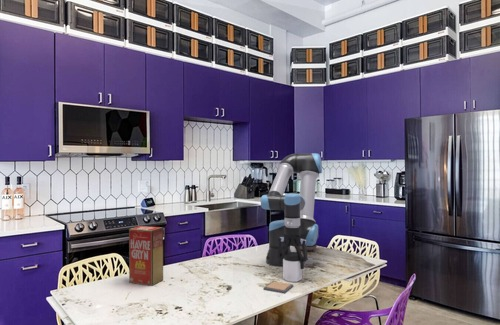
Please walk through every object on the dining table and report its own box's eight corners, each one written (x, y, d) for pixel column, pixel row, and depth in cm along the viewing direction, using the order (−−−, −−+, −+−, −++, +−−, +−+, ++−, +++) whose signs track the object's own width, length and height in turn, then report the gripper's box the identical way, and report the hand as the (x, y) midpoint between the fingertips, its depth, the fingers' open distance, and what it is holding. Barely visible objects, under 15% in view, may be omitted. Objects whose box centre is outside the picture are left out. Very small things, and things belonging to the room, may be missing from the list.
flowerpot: (295, 252, 221) (295, 220, 221) (296, 246, 237) (296, 216, 237) (318, 253, 219) (319, 220, 219) (318, 247, 234) (318, 217, 234)
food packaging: (127, 282, 164) (128, 228, 164) (140, 276, 173) (140, 225, 173) (152, 286, 160) (152, 230, 160) (164, 279, 169) (164, 226, 169)
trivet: (263, 289, 156) (263, 287, 156) (272, 282, 164) (272, 280, 164) (284, 293, 151) (284, 291, 151) (293, 286, 160) (293, 284, 160)
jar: (305, 280, 167) (304, 255, 167) (289, 283, 164) (289, 256, 164) (295, 275, 175) (295, 250, 176) (280, 277, 172) (280, 252, 172)
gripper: (269, 225, 171) (270, 273, 171) (310, 229, 162) (310, 280, 162) (276, 223, 178) (276, 269, 178) (315, 226, 168) (315, 275, 169)
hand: (292, 274), depth 170 cm, fingers closed on jar, 7 cm apart
